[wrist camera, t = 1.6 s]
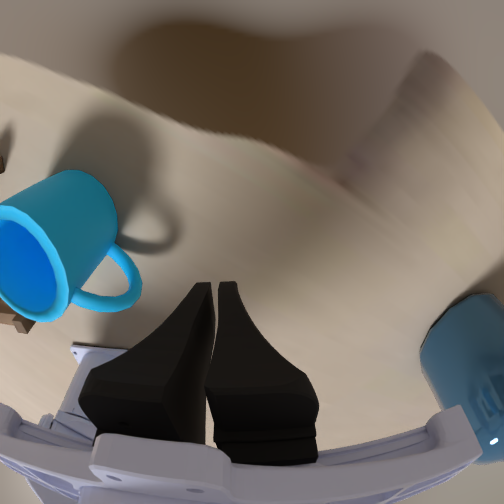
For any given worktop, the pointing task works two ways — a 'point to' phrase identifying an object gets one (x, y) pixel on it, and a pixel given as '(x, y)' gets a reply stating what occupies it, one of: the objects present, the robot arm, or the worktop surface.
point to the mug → (60, 247)
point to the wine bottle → (470, 368)
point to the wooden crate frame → (5, 313)
